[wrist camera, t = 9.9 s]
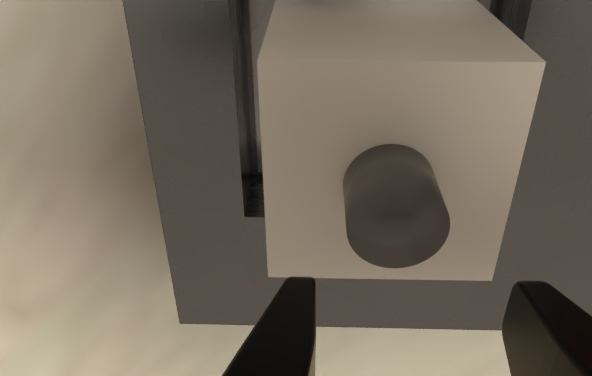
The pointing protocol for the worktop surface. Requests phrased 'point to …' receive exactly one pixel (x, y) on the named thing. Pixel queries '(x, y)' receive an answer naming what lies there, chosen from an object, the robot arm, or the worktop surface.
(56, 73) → the worktop surface
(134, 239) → the worktop surface
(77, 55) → the worktop surface
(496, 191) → the plug
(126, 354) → the worktop surface
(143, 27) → the socket plate
